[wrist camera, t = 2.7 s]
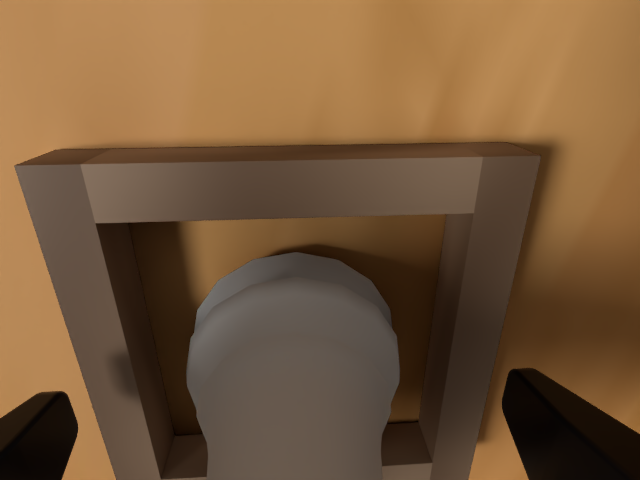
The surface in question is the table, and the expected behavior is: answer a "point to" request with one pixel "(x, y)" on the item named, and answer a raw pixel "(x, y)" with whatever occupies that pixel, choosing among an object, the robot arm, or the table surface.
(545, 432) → the robot arm
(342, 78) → the table surface
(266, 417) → the rook chess piece
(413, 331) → the table surface
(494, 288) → the socket collar
